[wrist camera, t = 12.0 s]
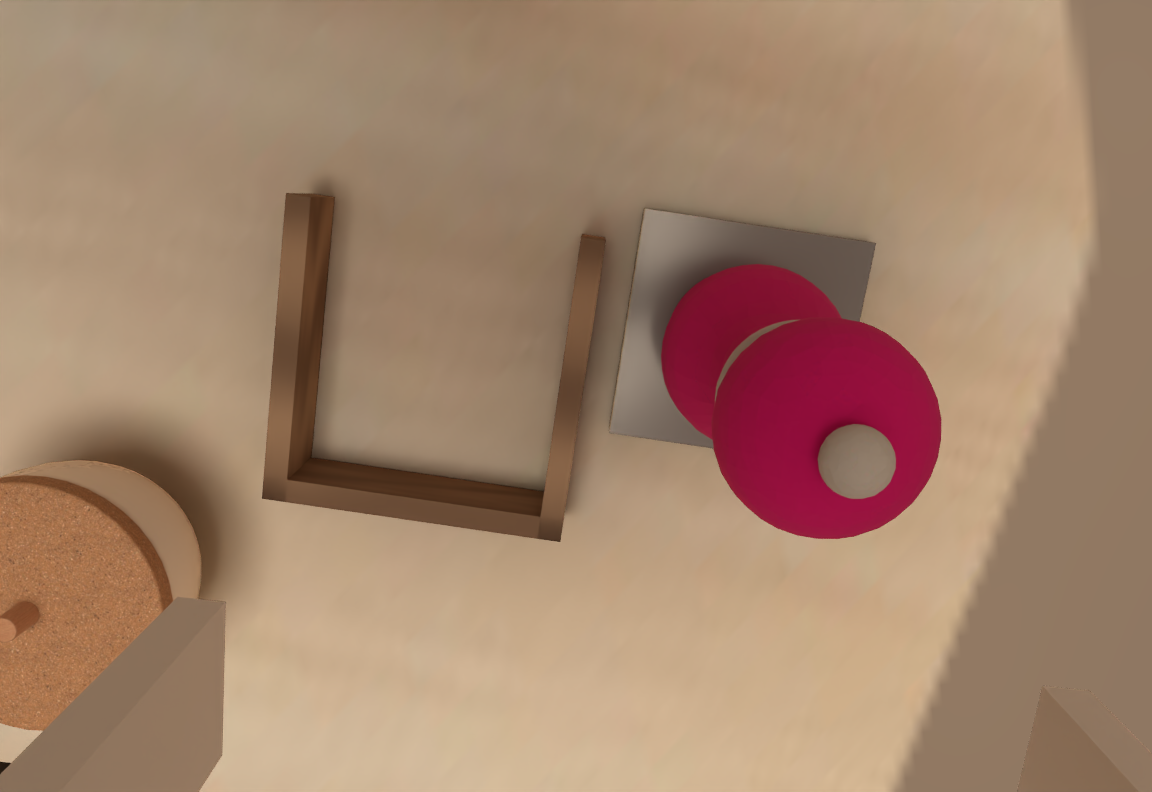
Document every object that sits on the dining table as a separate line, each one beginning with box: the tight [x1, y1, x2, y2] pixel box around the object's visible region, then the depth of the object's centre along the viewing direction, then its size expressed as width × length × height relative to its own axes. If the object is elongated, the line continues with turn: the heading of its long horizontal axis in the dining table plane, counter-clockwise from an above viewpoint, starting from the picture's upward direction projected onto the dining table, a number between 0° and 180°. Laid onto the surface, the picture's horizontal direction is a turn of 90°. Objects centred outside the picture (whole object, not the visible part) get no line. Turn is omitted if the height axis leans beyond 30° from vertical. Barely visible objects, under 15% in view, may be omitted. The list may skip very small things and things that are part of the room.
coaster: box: [609, 208, 876, 448], centre depth 41 cm, size 10×10×1 cm
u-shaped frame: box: [262, 193, 606, 542], centre depth 40 cm, size 13×13×4 cm
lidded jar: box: [0, 460, 201, 731], centre depth 40 cm, size 11×11×9 cm
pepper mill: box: [661, 264, 941, 539], centre depth 31 cm, size 7×7×20 cm
